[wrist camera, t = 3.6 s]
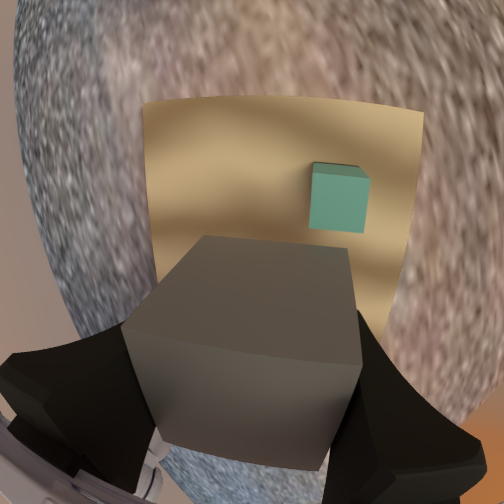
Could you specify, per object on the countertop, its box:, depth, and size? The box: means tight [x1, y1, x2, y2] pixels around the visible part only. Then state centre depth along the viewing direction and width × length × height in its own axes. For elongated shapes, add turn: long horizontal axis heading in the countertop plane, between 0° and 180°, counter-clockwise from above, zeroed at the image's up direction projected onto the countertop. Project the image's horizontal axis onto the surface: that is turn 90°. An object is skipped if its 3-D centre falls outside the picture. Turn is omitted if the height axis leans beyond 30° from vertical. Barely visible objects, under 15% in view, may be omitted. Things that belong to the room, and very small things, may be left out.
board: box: [143, 96, 424, 344], centre depth 19 cm, size 18×17×1 cm
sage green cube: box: [309, 161, 370, 234], centre depth 15 cm, size 3×3×4 cm
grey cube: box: [121, 235, 363, 471], centre depth 9 cm, size 5×5×6 cm
